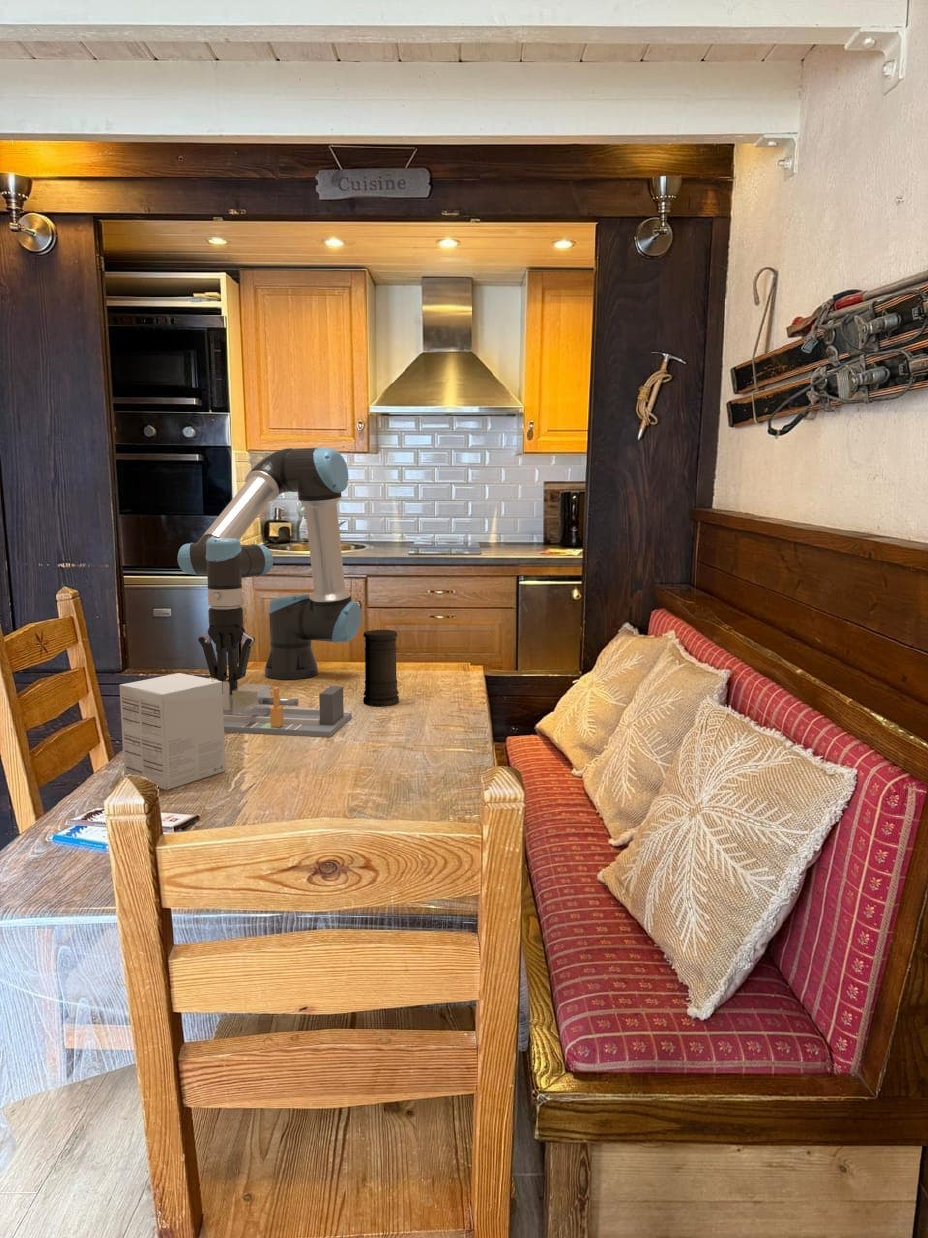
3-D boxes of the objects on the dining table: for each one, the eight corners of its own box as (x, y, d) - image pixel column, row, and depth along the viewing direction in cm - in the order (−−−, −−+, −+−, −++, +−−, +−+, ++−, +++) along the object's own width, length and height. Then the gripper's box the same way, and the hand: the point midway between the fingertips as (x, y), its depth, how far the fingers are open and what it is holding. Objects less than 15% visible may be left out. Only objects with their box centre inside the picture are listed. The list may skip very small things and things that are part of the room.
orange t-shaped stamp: (274, 723, 185) (273, 686, 184) (283, 724, 185) (282, 686, 183) (270, 726, 182) (269, 688, 181) (279, 726, 182) (278, 689, 181)
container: (401, 698, 215) (401, 629, 212) (395, 707, 206) (395, 635, 203) (367, 697, 216) (366, 628, 213) (359, 706, 207) (358, 634, 204)
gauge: (245, 711, 196) (244, 683, 195) (303, 713, 193) (302, 686, 193) (224, 724, 184) (223, 695, 183) (285, 726, 182) (284, 697, 181)
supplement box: (183, 758, 165) (179, 671, 162) (227, 771, 157) (223, 680, 155) (122, 776, 154) (117, 684, 151) (166, 791, 147) (161, 694, 144)
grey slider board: (222, 712, 200) (221, 678, 199) (351, 718, 195) (351, 683, 194) (191, 730, 185) (189, 694, 183) (330, 737, 180) (329, 700, 179)
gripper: (190, 608, 186) (194, 711, 190) (246, 609, 184) (249, 713, 188) (205, 604, 194) (209, 703, 197) (259, 605, 192) (262, 705, 195)
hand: (229, 708), depth 192 cm, fingers closed
